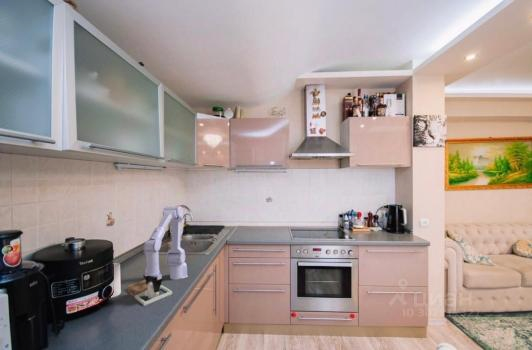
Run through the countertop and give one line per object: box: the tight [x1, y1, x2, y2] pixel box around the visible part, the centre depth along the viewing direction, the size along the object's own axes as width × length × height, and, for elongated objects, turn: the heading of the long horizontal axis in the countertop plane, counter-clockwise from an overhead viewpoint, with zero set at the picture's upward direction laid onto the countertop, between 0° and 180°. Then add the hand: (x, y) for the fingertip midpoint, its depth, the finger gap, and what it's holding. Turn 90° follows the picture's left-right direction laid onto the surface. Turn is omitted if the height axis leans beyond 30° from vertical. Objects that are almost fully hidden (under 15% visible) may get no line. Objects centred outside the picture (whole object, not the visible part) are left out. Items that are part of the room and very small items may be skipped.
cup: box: [110, 262, 122, 299], centre depth 125 cm, size 8×8×16 cm
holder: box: [123, 279, 148, 299], centre depth 130 cm, size 14×14×3 cm
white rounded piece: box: [144, 282, 160, 300], centre depth 121 cm, size 7×5×7 cm
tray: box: [134, 284, 173, 308], centre depth 122 cm, size 14×11×2 cm
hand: (153, 289), depth 122 cm, fingers open, 7 cm apart
